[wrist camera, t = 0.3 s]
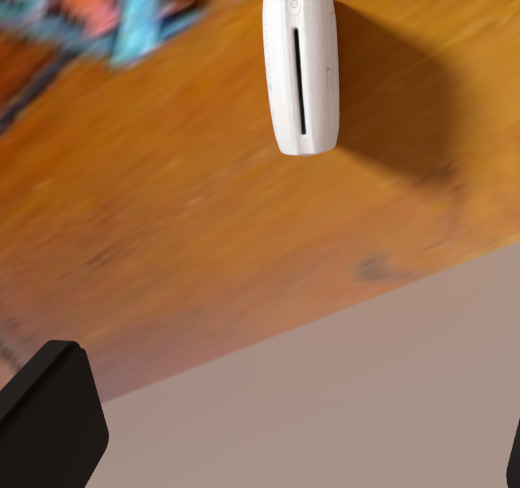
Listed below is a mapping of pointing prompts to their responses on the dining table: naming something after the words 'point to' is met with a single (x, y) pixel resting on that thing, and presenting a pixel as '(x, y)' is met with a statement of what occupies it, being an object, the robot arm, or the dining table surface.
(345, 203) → the dining table surface
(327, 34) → the photo printer
